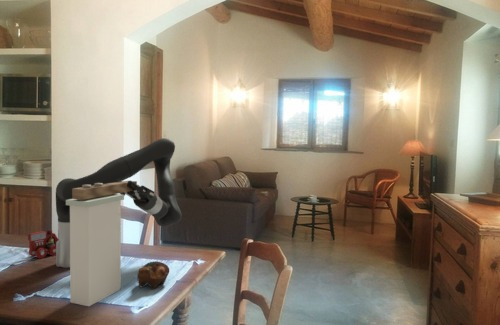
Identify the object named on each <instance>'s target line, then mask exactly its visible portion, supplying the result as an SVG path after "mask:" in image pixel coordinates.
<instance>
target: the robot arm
mask: <svg viewBox="0 0 500 325" xmlns="http://www.w3.org/2000/svg"><path fill="white" fill-rule="evenodd" d="M175 149H176V145H175V142H174V141H173V140H172V139H170V138H167V137H166V138H165V137H164V138H163V137H162V138H159V139H157V140H154V141H152V142H151V143H149V144H148V145H146V146H144V147H142V148H140V149H138V150H135V151H133V152H129V153H128V154H126V155H125V154H124V155H123V156H120V157H118V158H116V159H114V160H112V161H109V162H107V163H106V164H104V165H103V166H101V167H100V168H98V170H97V171H95V172H93V173H91V174H89V175H86V176H84V177H80V178H77V179H75V178H69V177H68V178H64V179H61V180H60V181H59V182H58V184H57V185H56V188H55V211H56V215H57V238H58V241H57V242H56V255H55V256H56V258H55V260H56V261H55V262H56V265H55V266H56V267H61V268H70V205H66V200H69V199H72V189H73V188H80V187H82V185H91V186H94V183H103V184H108V183H115V182H122V181H126V180H127V179H129V178H131V177H134V176H135V175H137V173H139V172H140V171H141V170H143V168H146V167H147V166H148V165H149V164H150V163H152V162H153V165H154V169H155V174H156V181H157V182H156V183H157V194H156V193H155V191H154V190H152V189H151V188H148V187H146V186H145V185H141V186H140V185H139V184H137V185H136V184H135V183H133V182H132V181H133V180H127V181H128V184H127V187H129V188H130V189H131V190H134V191H128V192H123V193H119V195H124V197H125V196H128V197H129V198H130V199H132V201H133V203H134V205H135V206H136V207H138V208H139V209H140V210H142V211H144V212H145V213H147V214H149V215H150V216H152V217H153V218H154V220H155V221H156V223H157V225H158V226H159V227H167V226H172V225H174V224H177V223H179V222H180V221H182V218H183V217H182V215H183V214H182V211H181V209H180V207H179V204H178V200H177V198H176V189H175V183H174V180H173V178H172V175H171V168H170V167H171V159H172V158H173V156H174V153H175V151H176V150H175Z"/></svg>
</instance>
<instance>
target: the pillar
mask: <svg viewBox="0 0 500 325" xmlns="http://www.w3.org/2000/svg"><path fill="white" fill-rule="evenodd" d="M123 200H125V196H124V195H121V194H120V193H117V194H112V195H107V196H101V197H96V198H91V199H85V200H79V199H69V200H66V205H70V267H69V269H70V270H69V274H70V275H69V276H70V277H69V280H70V285H69V286H70V288H69V289H70V291H69V292H70V293H69V294H70V296H69V297H70V299H69V300H70V303H71V304H74V305H75V304H77V305H81V306H86V307H91V306H92V305H94V304H96V303H98V302H100V301H101V300H103V299H105V298H107V297H109V296H112V295H113V294H114V293H116V292H118V291H120V290H121V288H122V287H121V286H122V285H121V284H122V283H121V281H122V280H121V276H122V275H121V271H122V270H121V266H122V264H121V262H122V259H121V254H122V251H121V250H122V248H121V244H122V243H121V242H122V239H121V238H122V237H121V236H122V231H121V230H122V229H121V228H122V227H121V226H122V223H121V222H122V220H121V219H122V218H121V217H122V212H121V210H122V209H121V208H122V205H121V201H123Z"/></svg>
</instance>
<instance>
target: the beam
mask: <svg viewBox="0 0 500 325" xmlns="http://www.w3.org/2000/svg"><path fill="white" fill-rule="evenodd" d="M128 181H129V180H123V181H122V182H115V183H108V184H103V183H94V186H91V185H82V187H80V188H73V189H72V199H79V200H85V199H91V198H96V197H101V196H107V195H112V194H120V193H123V192H128V191H134V190H131V189H130V188H129V187H127V184H128ZM131 181H132V182H133V183H135V184H136V185H138V182H137V181H134V180H131Z"/></svg>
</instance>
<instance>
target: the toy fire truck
mask: <svg viewBox="0 0 500 325" xmlns="http://www.w3.org/2000/svg"><path fill="white" fill-rule="evenodd" d="M27 240H28V245H29V246H28V248H29V250H28V254H29V256H31V257H36V258H38V259H44V258H45V257H46V256H47V254H49V255H50V256H53V257H55V256H56V242H57V241H58V235H56V233H53V230H52V229H48V230H47V231H44V230H41V231H37V232H32V233H31V232H30V233H29V234H27Z"/></svg>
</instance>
